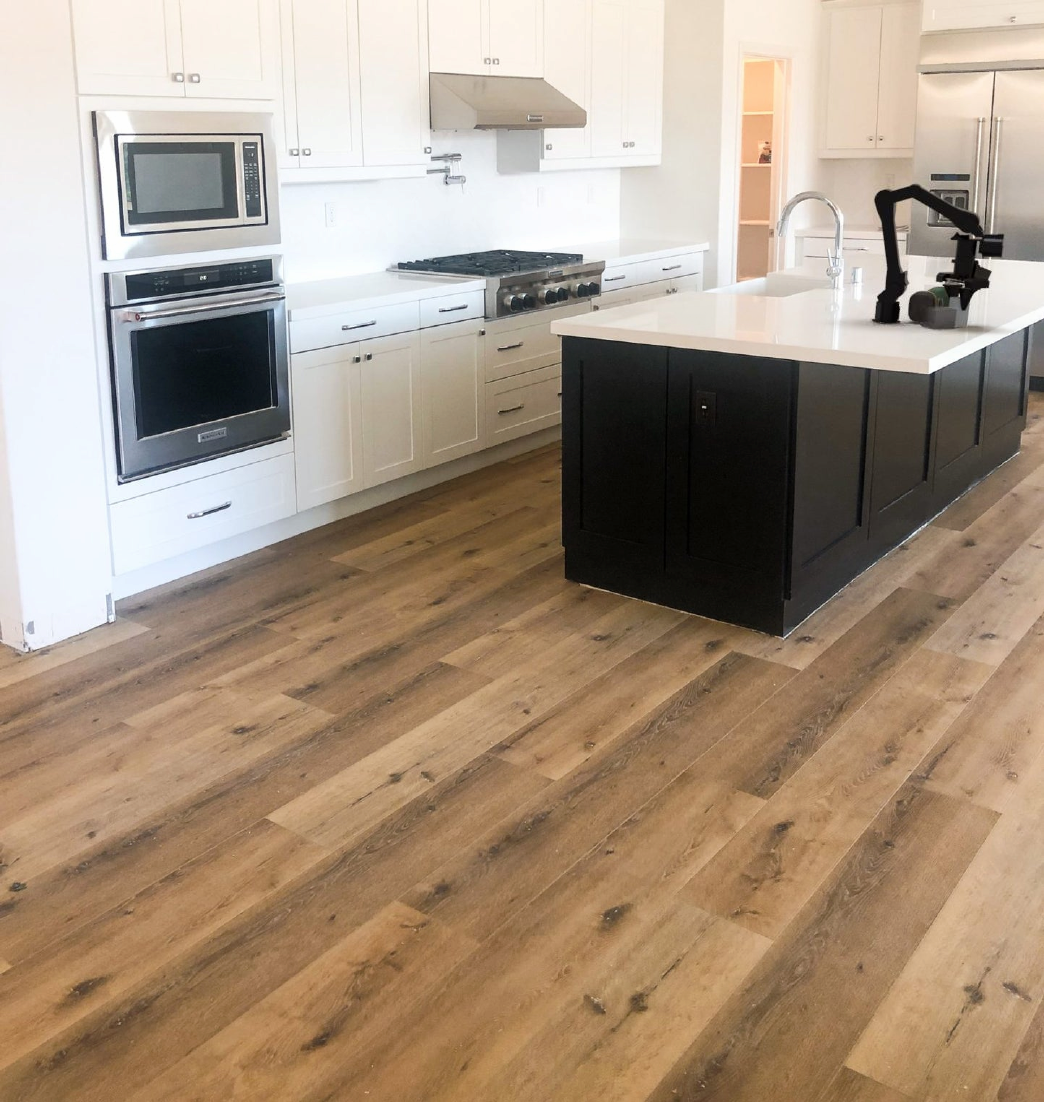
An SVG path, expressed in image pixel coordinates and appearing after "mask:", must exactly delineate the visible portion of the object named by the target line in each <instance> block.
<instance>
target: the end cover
mask: <svg viewBox="0 0 1044 1102" xmlns="http://www.w3.org/2000/svg"><path fill="white" fill-rule="evenodd" d="M970 305H971V301H970V302H969V304H968V306H967V308H966V310H965V311H962V309H961V303H960V296H959V297H950V302H949V307H948V308H952V309H957V313H956V321H955V328H957V327H958V328H959V327H968V320H969V312H970Z"/></svg>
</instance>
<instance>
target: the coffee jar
mask: <svg viewBox="0 0 1044 1102" xmlns="http://www.w3.org/2000/svg"><path fill="white" fill-rule="evenodd" d="M949 302H950V301H949V298H948V295H947V293H946V291H945V288H944V286H935V287H932V288H929V289H928V290H919V291H915V292H914V293H913V294H911V296H910V298H909V300H908V306H907V307H908V309H907V315H908V318H909V320H911V321H912V322H915V323H916V322H917V323H921V318H922V309H923V307H940V306H944V307H949Z"/></svg>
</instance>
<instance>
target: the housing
mask: <svg viewBox="0 0 1044 1102" xmlns="http://www.w3.org/2000/svg"><path fill="white" fill-rule="evenodd" d="M956 313H957V309H952V308H948V307H944V306H940V307H923V309H922V318H921V322H920V327H923V328H928V329H931V330H948V329H949V330H952V329H954V330H955V328H956V327H955V321H956Z"/></svg>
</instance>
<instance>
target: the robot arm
mask: <svg viewBox="0 0 1044 1102" xmlns="http://www.w3.org/2000/svg"><path fill="white" fill-rule="evenodd" d="M909 199H914V200H916V201H917V202H919V203H920V204H923V205H925V206H926V207H928V208H930V209H932V210H933V211H935V212H936V213H938V214H940V215H941V216H944V217H945V218H946V219H948V221H950V222H951V224H953V225H954V226H955V227H956V228H958V229H959V230H960V231H961V232H962V233H964V234H960V232H959V231H956V232H955V234H953V236H951V237H950V241H956V245H955V255H954V258H952V259H951V264H953V271H939V272H938V273H937V274H936V277H935V282H936V283H941V284H942V286H941V287H944V288H945V291H946V293H947V295H948V298H949V301H950V297H960V303H961V309H962V311H965V310H966V308H967V306H968V304H969V302H970V303H971V300H972V298H973V296H974V295H975V293H976V292H978V291H981V290H982V289H990V283H991V282H990V280H989V279H990V277H991V274H992V272H993V271H992V270H990V269H988V268H985V267H984V266H981V264H979V263H980V262H979V260H978V259H976V256H977V255H976V254H980V255H981V257H982V258H999V259H1000V258H1003V254H1004V247H1005V244H1004V243H1005V240H1004V239H1005V234H1004V233H986V232H985V229H983V227H982V226H981V218H980V215H979V214H978V213H976V212H974V211H971V210H968V209H966V208H962V207H959V206H956V205H954V204H952V203H950V202H948V201H947V200H945V199H943V198H942V197H940V196H938V195H936V194H935V193H933V192H931V191H930V190H928V189H926V188H925V187H923V186H922V185H921V184H919V183H913V184H910V185H908V186H905V187H901V188H898V189H894V190H893V189H891V188H884V189H881V190H879V191H878V192H877V193H876V194H875V195H874V198H873V201H874V205H875V209H876V212H877V214H878V217H879V219H880V221H881V229H882V237H883V245H884V255H885V262H886V263H885V265H886V274H885V283H884V284H885V286H884V289H883V290H882V291H881V292H880V293H878V295H876V298H877V300H876V303H875V311H874V318H871V321H873V322H876V323H880V324H893V323H894V324H899V323H901V320H900V312H901V306H900V305H901V304H900V303H901V302H900V301H898V300H899V298H900V297H902V296H903V295H904V294H905V292H906V291H907V289H908V285H910V281H909V280H908V279H909V278H908V270H903V268H902V266H901V259H900V250H899V249H900V248H899V243H898V242H899V241H898V234H897V224H896V212H897V204H898V203H899V202H902V201H906V200H909ZM970 234H971V235H973V236H974V237H975V238H973V237H971V235H970ZM978 242H979V245H978ZM977 247H978V248H977ZM977 249H978V253H977Z"/></svg>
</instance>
